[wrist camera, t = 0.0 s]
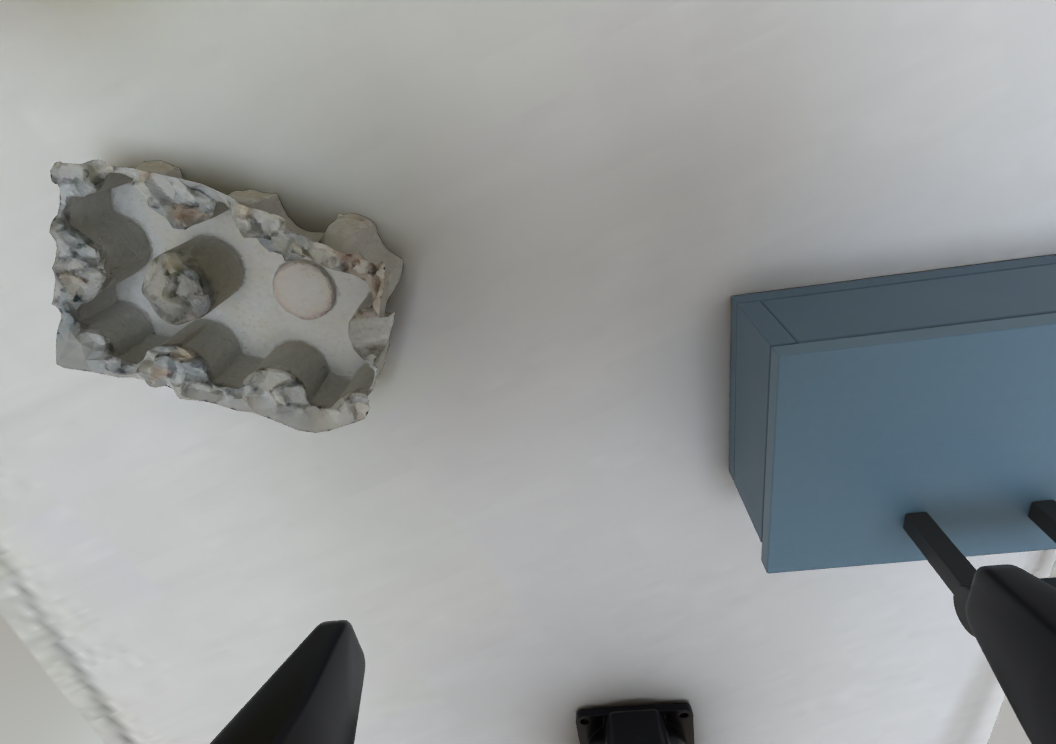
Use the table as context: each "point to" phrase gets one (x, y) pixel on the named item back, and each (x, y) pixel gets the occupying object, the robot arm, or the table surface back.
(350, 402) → the egg carton
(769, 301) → the compartment
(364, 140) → the table surface
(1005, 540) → the lid
